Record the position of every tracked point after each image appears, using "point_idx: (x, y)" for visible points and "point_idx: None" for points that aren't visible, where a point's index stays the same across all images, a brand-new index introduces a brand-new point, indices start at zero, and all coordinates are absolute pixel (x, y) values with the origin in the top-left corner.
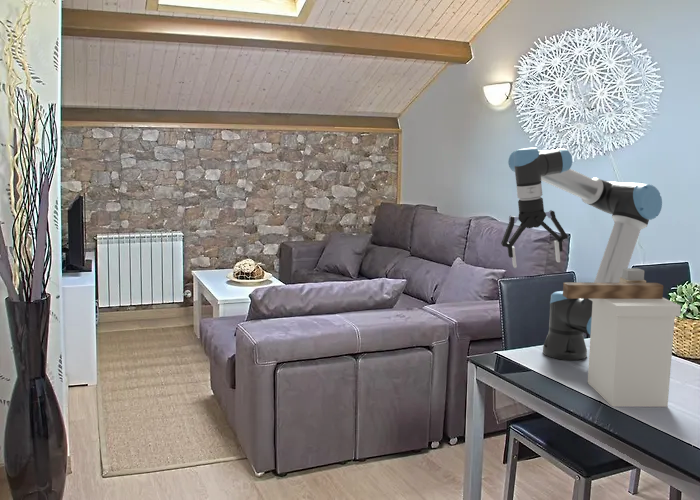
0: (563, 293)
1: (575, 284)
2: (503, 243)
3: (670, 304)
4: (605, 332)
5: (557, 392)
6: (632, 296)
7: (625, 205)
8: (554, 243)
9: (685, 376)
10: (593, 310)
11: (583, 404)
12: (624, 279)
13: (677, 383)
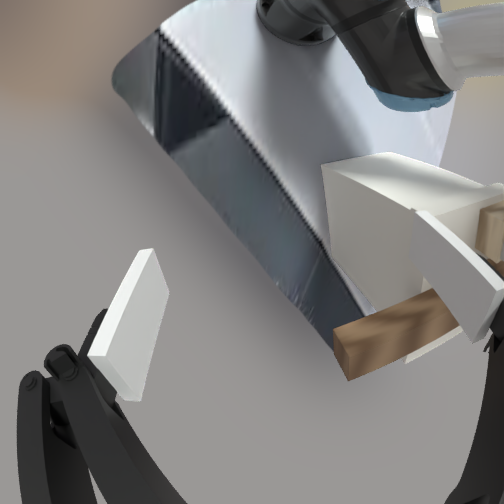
0: (335, 336)
1: (371, 367)
2: (60, 426)
3: None
4: (381, 271)
5: (266, 222)
6: None
7: None
8: (483, 278)
9: (444, 117)
10: (400, 213)
11: (296, 259)
12: (500, 248)
13: (430, 147)
